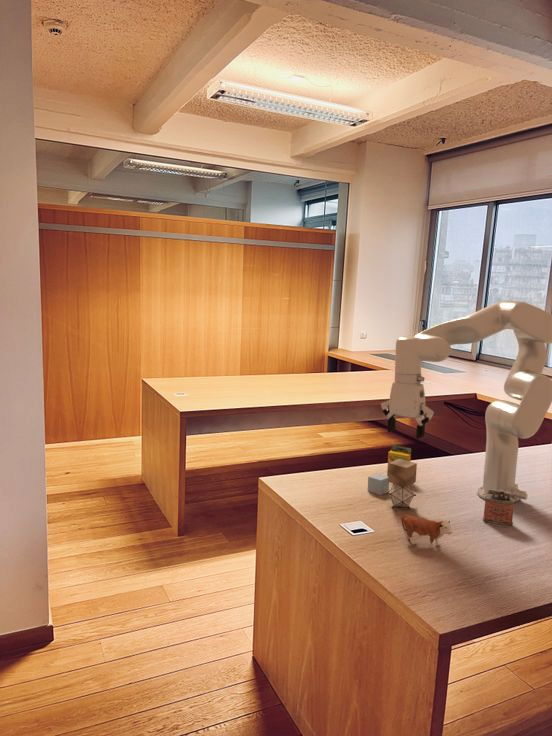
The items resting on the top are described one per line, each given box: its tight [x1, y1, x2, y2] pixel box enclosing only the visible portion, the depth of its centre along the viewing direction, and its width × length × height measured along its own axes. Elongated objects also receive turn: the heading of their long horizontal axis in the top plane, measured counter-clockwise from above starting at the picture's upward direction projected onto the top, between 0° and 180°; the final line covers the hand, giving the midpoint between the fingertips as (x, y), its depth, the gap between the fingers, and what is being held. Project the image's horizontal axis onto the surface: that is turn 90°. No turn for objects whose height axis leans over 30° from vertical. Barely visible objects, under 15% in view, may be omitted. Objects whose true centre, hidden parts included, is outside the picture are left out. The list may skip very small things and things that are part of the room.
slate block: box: [367, 472, 390, 496], centre depth 181 cm, size 5×5×5 cm
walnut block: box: [388, 459, 418, 487], centre depth 168 cm, size 6×6×6 cm
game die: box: [386, 483, 417, 510], centre depth 169 cm, size 9×8×10 cm
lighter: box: [482, 489, 516, 528], centre depth 158 cm, size 8×3×10 cm, turn 71°
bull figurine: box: [401, 514, 454, 550], centre depth 144 cm, size 4×13×8 cm, turn 58°
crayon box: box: [386, 444, 412, 476], centre depth 192 cm, size 7×3×12 cm, turn 58°
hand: (405, 434), depth 166 cm, fingers open, 9 cm apart
